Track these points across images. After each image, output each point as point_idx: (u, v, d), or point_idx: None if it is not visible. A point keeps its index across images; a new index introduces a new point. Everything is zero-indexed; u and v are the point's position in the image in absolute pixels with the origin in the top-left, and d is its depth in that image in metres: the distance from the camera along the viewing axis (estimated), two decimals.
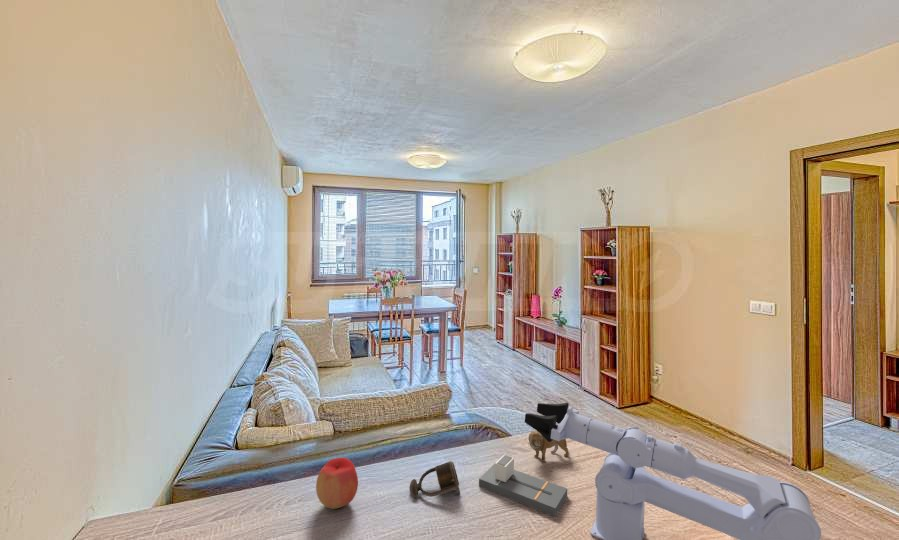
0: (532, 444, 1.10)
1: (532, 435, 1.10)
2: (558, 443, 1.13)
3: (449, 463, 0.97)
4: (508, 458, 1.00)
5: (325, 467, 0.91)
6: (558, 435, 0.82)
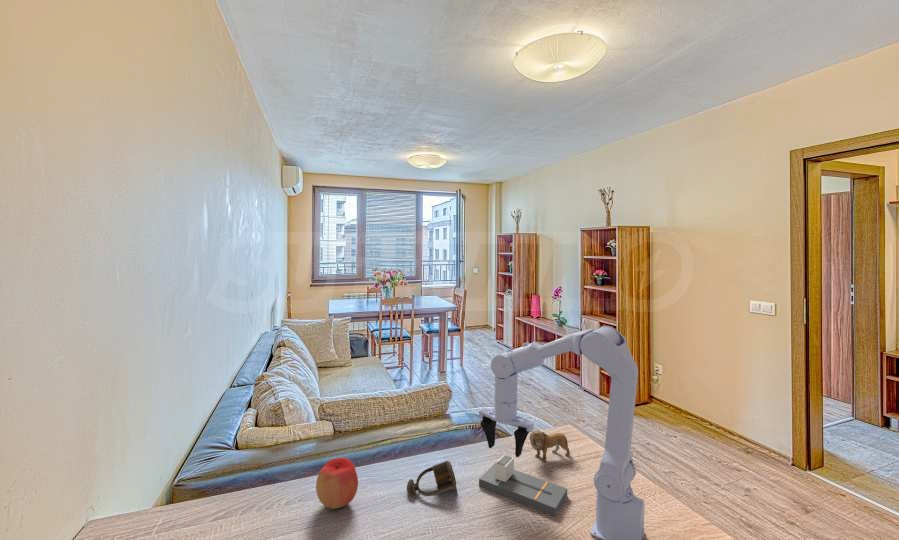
0: (533, 444, 1.10)
1: (533, 435, 1.10)
2: (559, 443, 1.13)
3: (446, 462, 0.97)
4: (508, 458, 1.00)
5: (325, 467, 0.91)
6: None
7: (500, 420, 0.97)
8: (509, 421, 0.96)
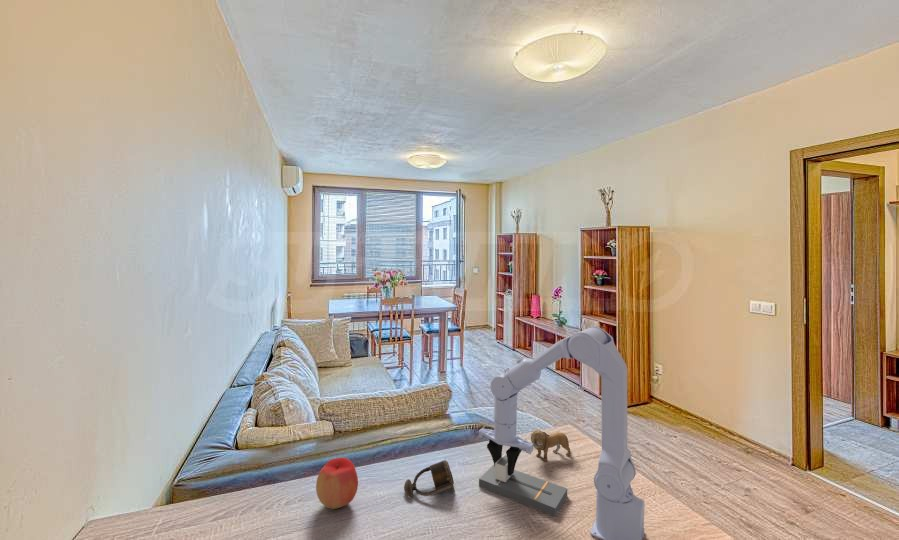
0: (534, 443, 1.10)
1: (534, 434, 1.10)
2: (560, 442, 1.13)
3: (443, 462, 0.98)
4: None
5: (325, 467, 0.91)
6: None
7: (500, 441, 0.97)
8: (509, 442, 0.96)
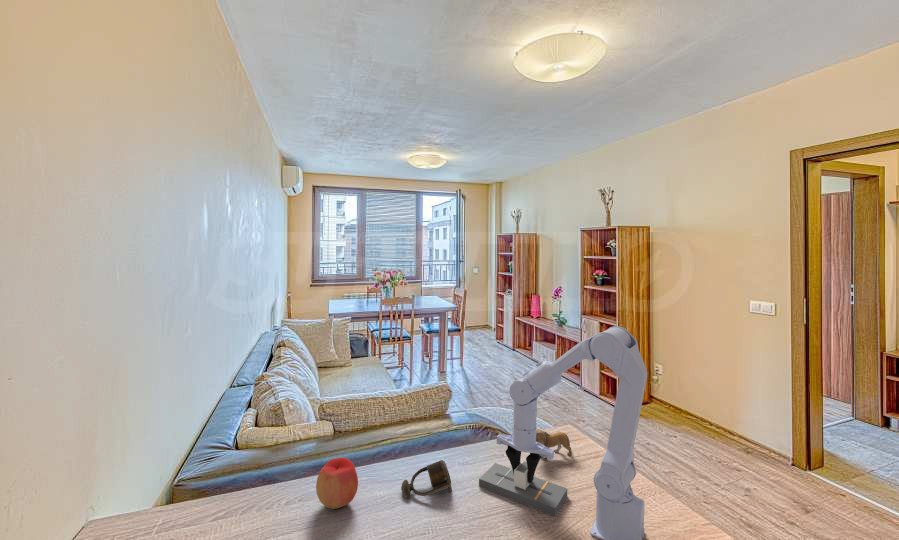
0: None
1: None
2: (561, 442, 1.13)
3: (441, 462, 0.98)
4: None
5: (325, 467, 0.91)
6: None
7: (519, 448, 0.94)
8: (529, 449, 0.93)
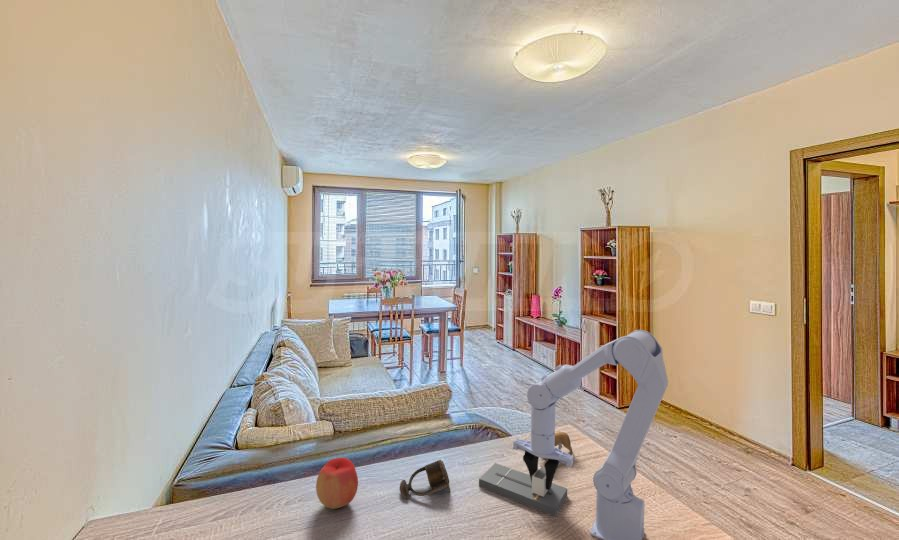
0: None
1: None
2: (562, 442, 1.14)
3: (439, 462, 0.98)
4: (545, 470, 0.95)
5: (325, 467, 0.91)
6: None
7: (538, 453, 0.91)
8: (547, 455, 0.91)
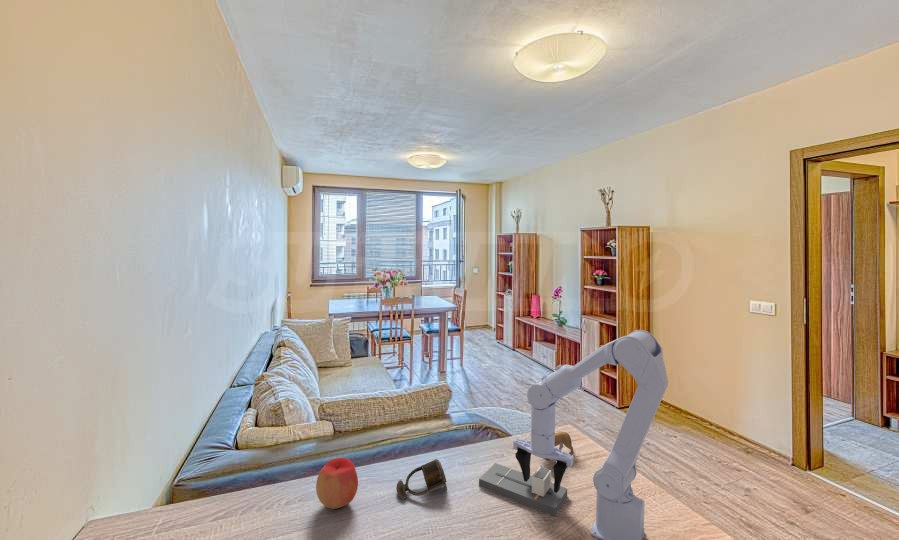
0: None
1: None
2: (563, 441, 1.14)
3: (435, 461, 0.98)
4: (545, 470, 0.95)
5: (325, 467, 0.91)
6: None
7: (538, 453, 0.91)
8: (547, 455, 0.91)
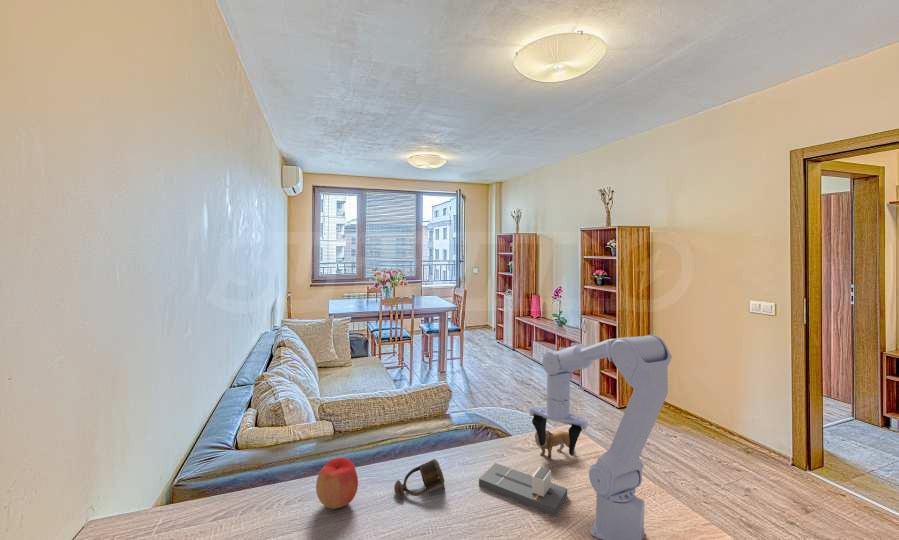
0: (538, 442, 1.11)
1: None
2: (564, 441, 1.14)
3: (433, 461, 0.98)
4: (545, 470, 0.95)
5: (325, 467, 0.91)
6: None
7: (554, 418, 0.97)
8: (563, 419, 0.96)
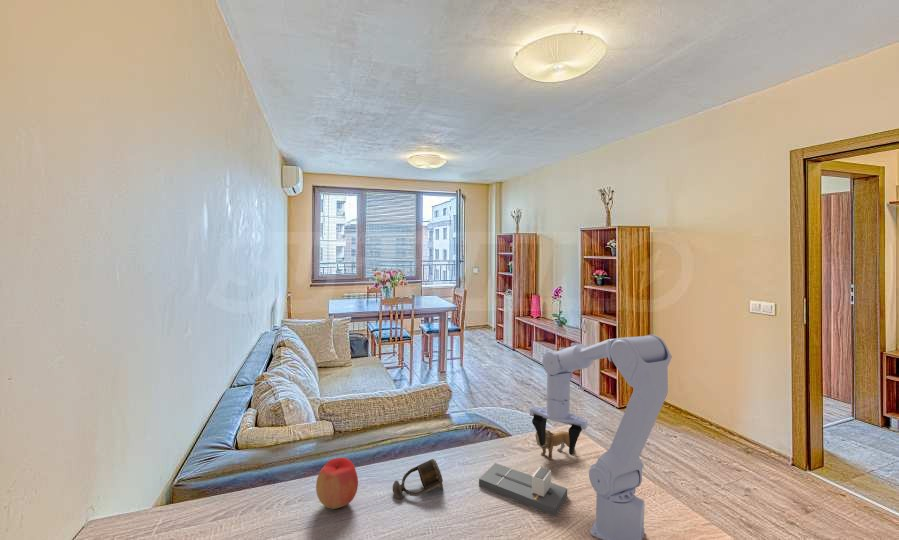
0: (539, 442, 1.11)
1: None
2: (565, 441, 1.14)
3: (431, 461, 0.98)
4: (545, 470, 0.95)
5: (325, 467, 0.91)
6: None
7: (554, 418, 0.97)
8: (563, 419, 0.96)
